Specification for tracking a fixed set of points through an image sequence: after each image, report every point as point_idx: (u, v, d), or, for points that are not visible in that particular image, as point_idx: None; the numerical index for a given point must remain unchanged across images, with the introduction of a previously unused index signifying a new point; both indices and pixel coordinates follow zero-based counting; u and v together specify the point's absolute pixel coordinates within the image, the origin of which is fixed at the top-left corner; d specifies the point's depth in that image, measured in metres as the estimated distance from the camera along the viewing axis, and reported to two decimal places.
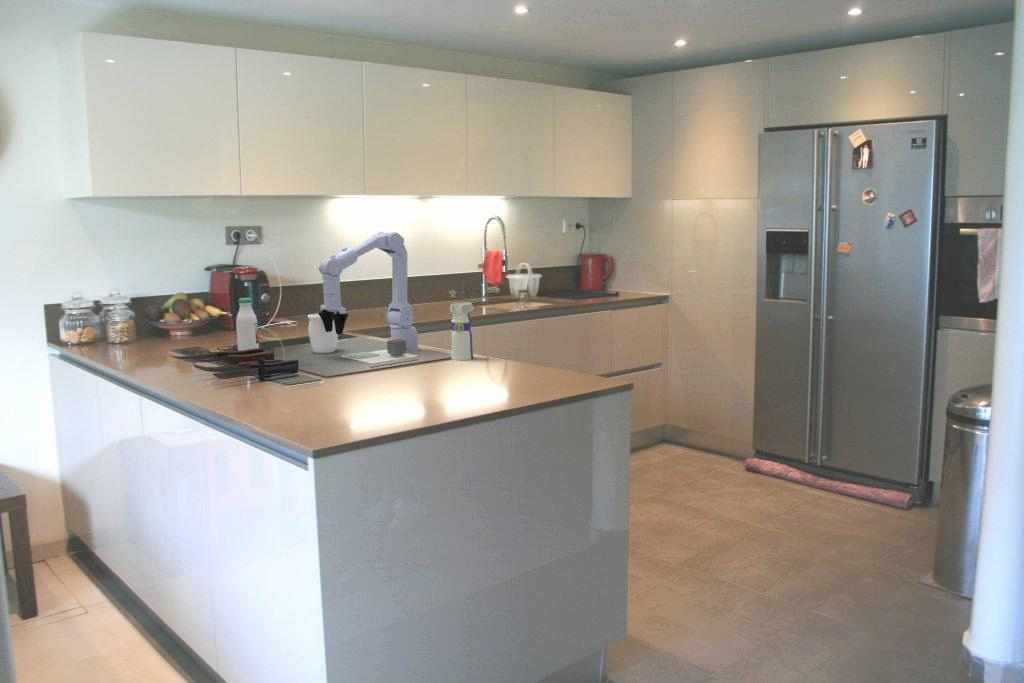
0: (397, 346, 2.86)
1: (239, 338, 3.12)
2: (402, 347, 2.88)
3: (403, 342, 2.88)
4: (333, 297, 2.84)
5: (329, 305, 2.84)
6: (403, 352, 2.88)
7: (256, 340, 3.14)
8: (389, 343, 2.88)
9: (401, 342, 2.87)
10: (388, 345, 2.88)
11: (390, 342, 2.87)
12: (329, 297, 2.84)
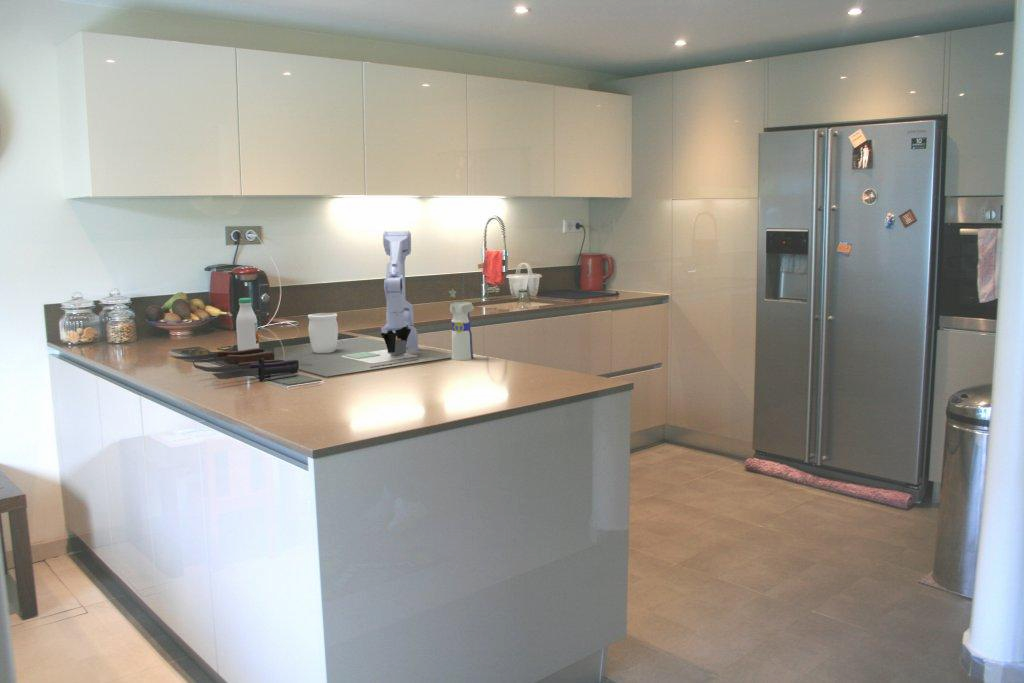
0: (397, 346, 2.86)
1: (239, 338, 3.12)
2: (402, 347, 2.88)
3: (403, 342, 2.88)
4: (388, 315, 2.85)
5: (387, 323, 2.87)
6: (403, 352, 2.88)
7: (256, 340, 3.14)
8: None
9: (401, 342, 2.87)
10: None
11: None
12: (387, 315, 2.86)
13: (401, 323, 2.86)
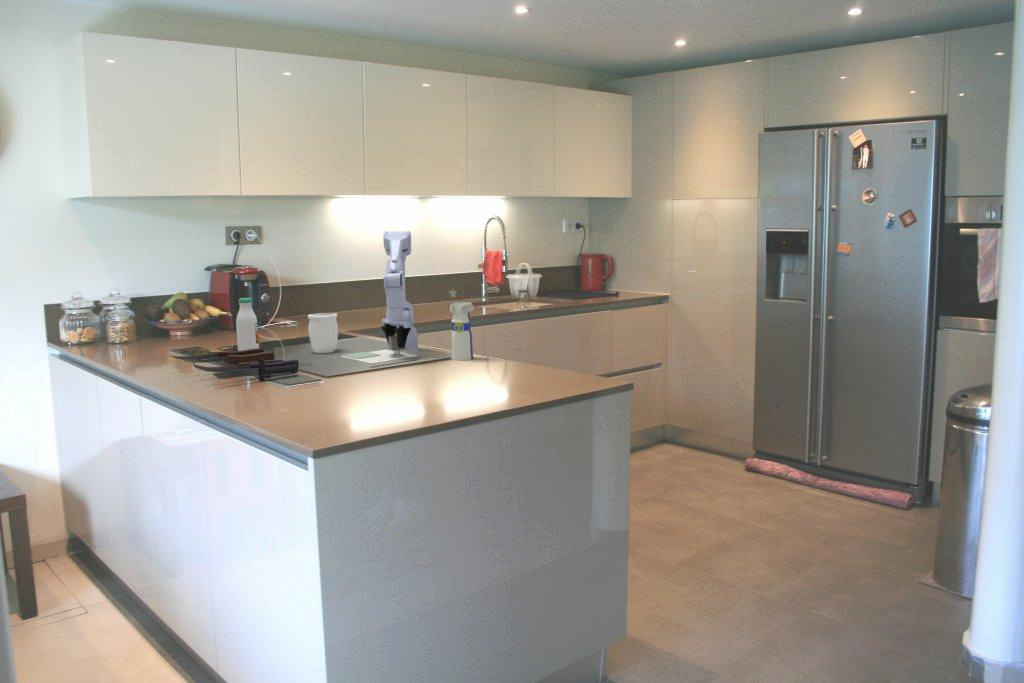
0: None
1: (239, 338, 3.12)
2: None
3: None
4: (397, 311, 2.84)
5: (393, 319, 2.85)
6: None
7: (256, 340, 3.14)
8: (395, 339, 2.86)
9: None
10: (394, 342, 2.86)
11: None
12: (393, 311, 2.84)
13: None
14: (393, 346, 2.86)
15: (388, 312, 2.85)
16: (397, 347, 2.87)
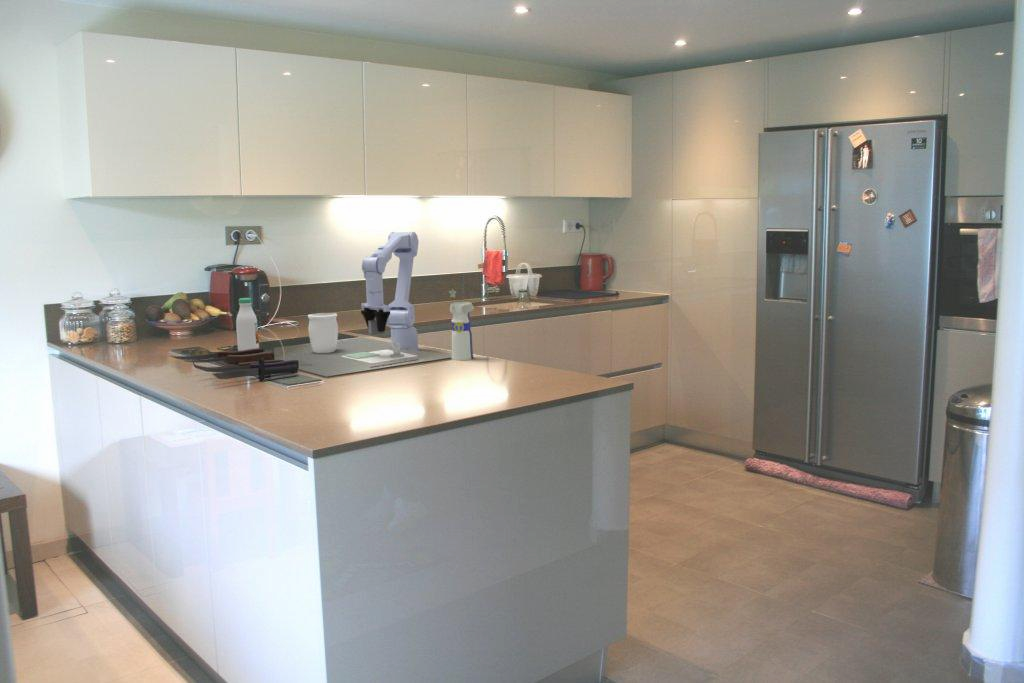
0: None
1: (239, 338, 3.12)
2: None
3: None
4: (376, 295, 2.85)
5: (373, 303, 2.85)
6: None
7: (256, 340, 3.14)
8: (374, 323, 2.86)
9: None
10: (373, 326, 2.86)
11: (376, 322, 2.86)
12: (372, 295, 2.84)
13: None
14: (373, 330, 2.86)
15: (368, 296, 2.85)
16: (377, 331, 2.87)
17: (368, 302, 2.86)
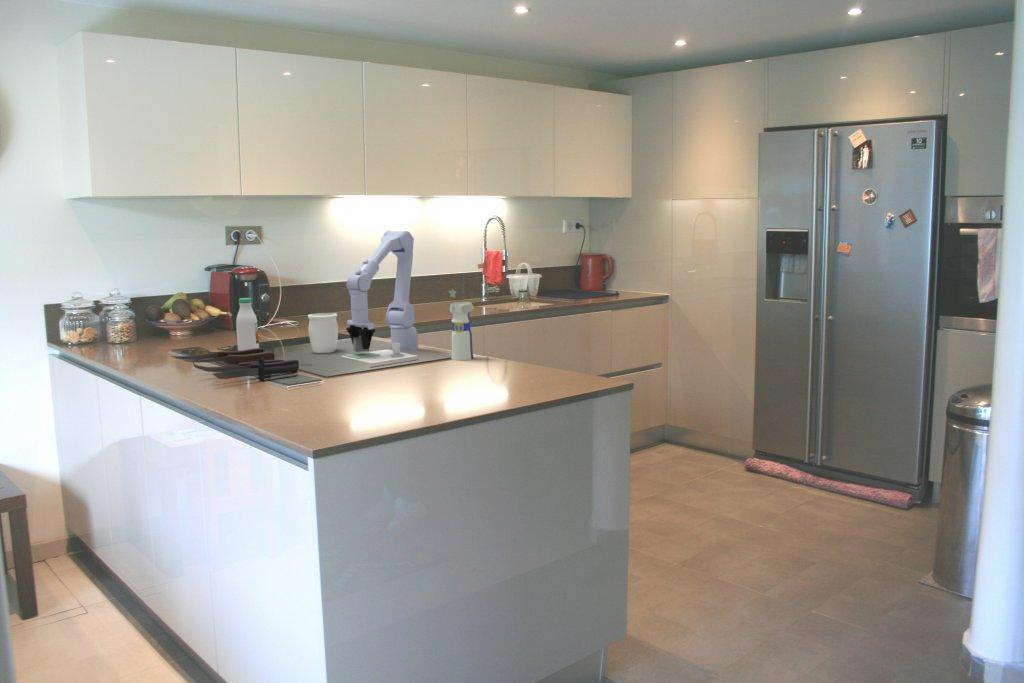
0: None
1: (239, 338, 3.12)
2: None
3: None
4: (361, 313, 2.87)
5: (357, 321, 2.87)
6: None
7: (256, 340, 3.14)
8: (359, 341, 2.88)
9: None
10: (358, 343, 2.88)
11: (361, 339, 2.88)
12: (357, 313, 2.86)
13: None
14: (357, 347, 2.88)
15: (352, 313, 2.87)
16: (361, 348, 2.89)
17: (353, 319, 2.88)
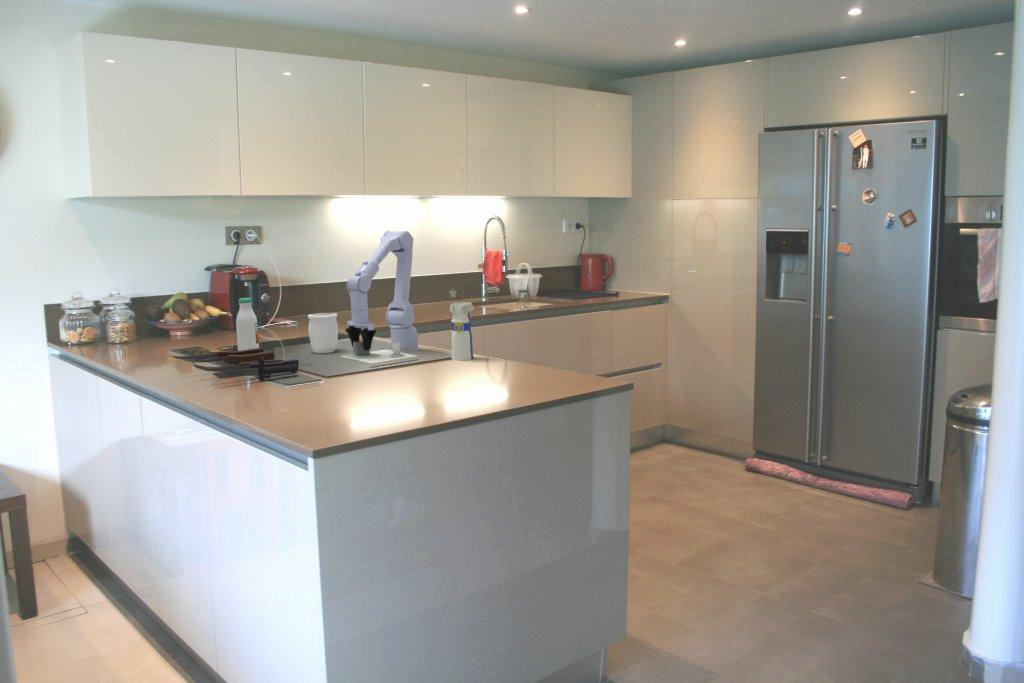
0: None
1: (239, 338, 3.12)
2: None
3: None
4: (361, 313, 2.87)
5: (357, 322, 2.87)
6: None
7: (256, 340, 3.14)
8: (360, 345, 2.88)
9: None
10: (359, 347, 2.88)
11: (362, 344, 2.89)
12: (357, 313, 2.86)
13: None
14: (358, 352, 2.89)
15: (352, 314, 2.87)
16: (362, 353, 2.89)
17: (353, 320, 2.88)
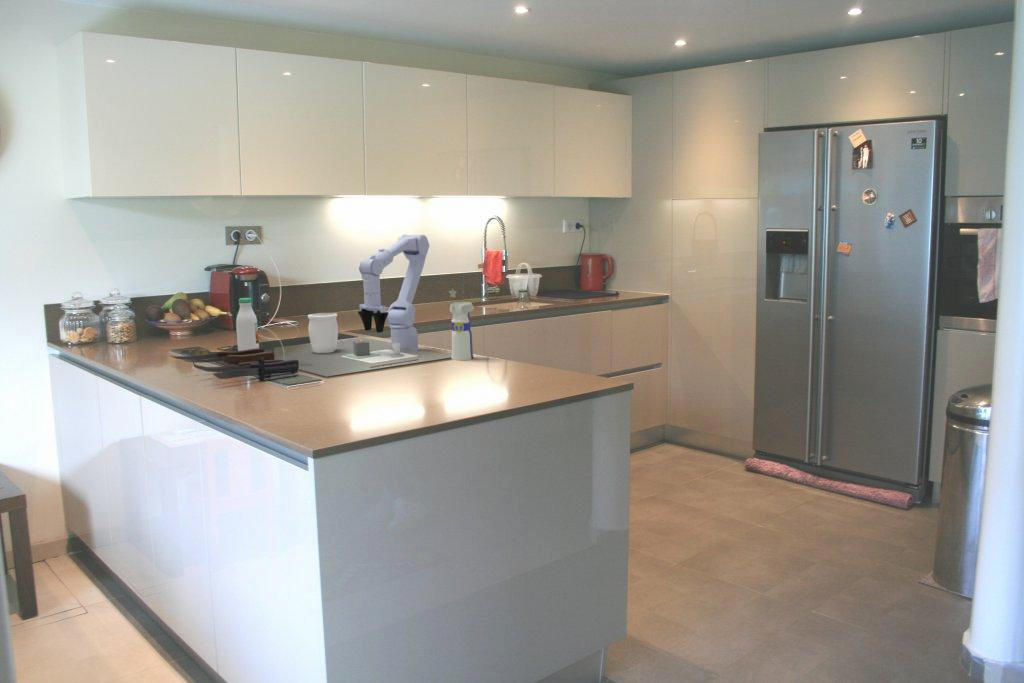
0: None
1: (239, 338, 3.12)
2: None
3: None
4: (374, 296, 2.90)
5: (370, 304, 2.91)
6: None
7: (256, 340, 3.14)
8: (360, 345, 2.88)
9: None
10: (359, 347, 2.88)
11: (362, 344, 2.89)
12: (370, 296, 2.90)
13: None
14: (358, 352, 2.89)
15: (365, 297, 2.91)
16: (362, 353, 2.89)
17: (366, 303, 2.91)
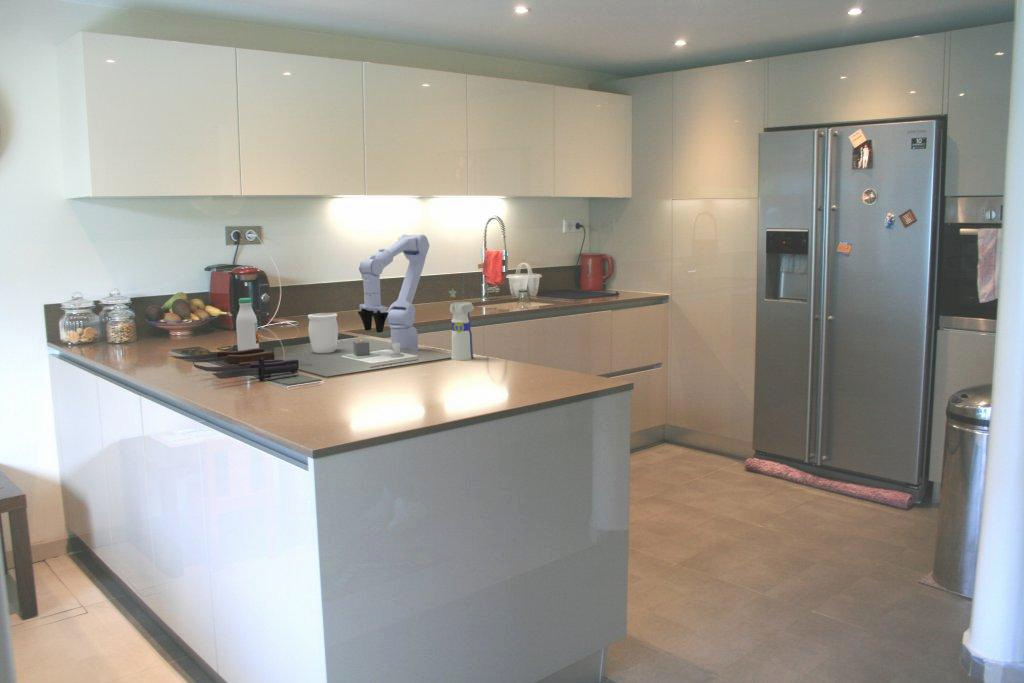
0: None
1: (239, 338, 3.12)
2: None
3: None
4: (374, 296, 2.90)
5: (370, 304, 2.91)
6: None
7: (256, 340, 3.14)
8: (360, 345, 2.88)
9: None
10: (359, 347, 2.88)
11: (362, 344, 2.89)
12: (370, 296, 2.90)
13: None
14: (358, 352, 2.89)
15: (365, 297, 2.91)
16: (362, 353, 2.89)
17: (366, 303, 2.91)
